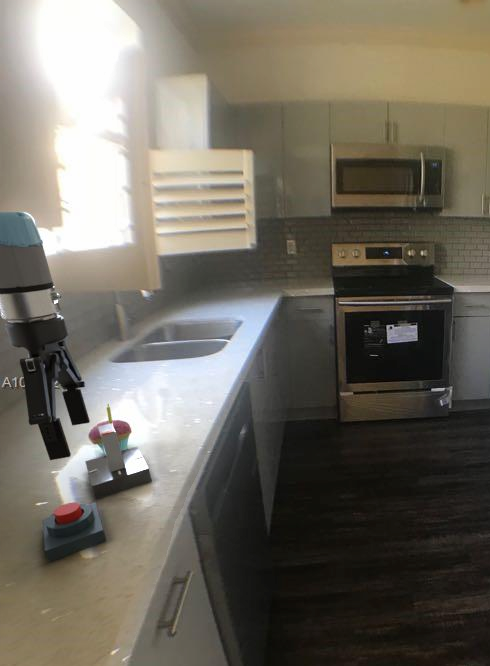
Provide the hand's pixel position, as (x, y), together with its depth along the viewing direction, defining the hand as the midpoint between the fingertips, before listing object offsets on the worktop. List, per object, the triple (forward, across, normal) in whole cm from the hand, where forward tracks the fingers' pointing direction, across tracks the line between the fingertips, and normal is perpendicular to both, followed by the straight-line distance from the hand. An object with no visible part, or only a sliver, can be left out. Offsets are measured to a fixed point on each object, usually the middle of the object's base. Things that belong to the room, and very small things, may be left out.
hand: (71, 439), depth 79 cm
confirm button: (+11, -7, +1) cm, 13 cm away
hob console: (+15, +11, -2) cm, 19 cm away
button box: (+15, -6, +2) cm, 16 cm away
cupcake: (+15, +25, 0) cm, 29 cm away
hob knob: (+12, +11, -3) cm, 17 cm away
